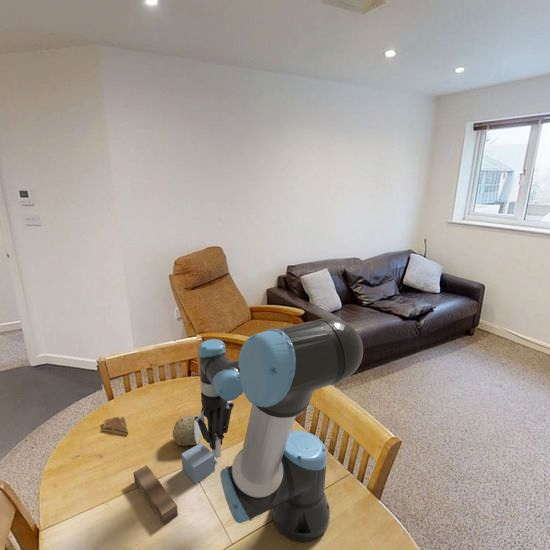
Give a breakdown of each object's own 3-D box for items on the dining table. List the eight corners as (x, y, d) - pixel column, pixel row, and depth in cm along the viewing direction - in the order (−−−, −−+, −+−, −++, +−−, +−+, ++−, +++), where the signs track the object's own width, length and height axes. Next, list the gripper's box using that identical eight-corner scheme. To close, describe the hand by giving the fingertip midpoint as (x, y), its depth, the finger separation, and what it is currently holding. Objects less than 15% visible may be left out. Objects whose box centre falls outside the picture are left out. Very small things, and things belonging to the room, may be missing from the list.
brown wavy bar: (177, 515, 94) (176, 505, 93) (163, 525, 91) (162, 514, 90) (147, 474, 107) (146, 464, 106) (134, 482, 104) (133, 472, 103)
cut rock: (205, 435, 113) (175, 424, 112) (194, 456, 116) (165, 446, 115) (211, 413, 122) (183, 403, 121) (200, 434, 125) (174, 424, 124)
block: (214, 471, 108) (214, 454, 106) (194, 484, 104) (193, 467, 102) (202, 457, 113) (201, 442, 111) (182, 470, 108) (181, 453, 107)
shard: (128, 436, 122) (128, 432, 122) (104, 444, 118) (103, 440, 118) (124, 418, 131) (123, 414, 131) (101, 425, 127) (100, 420, 127)
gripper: (224, 376, 112) (226, 438, 119) (187, 393, 104) (192, 458, 111) (239, 387, 107) (240, 451, 114) (201, 405, 99) (205, 473, 105)
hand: (216, 454), depth 112 cm, fingers closed
